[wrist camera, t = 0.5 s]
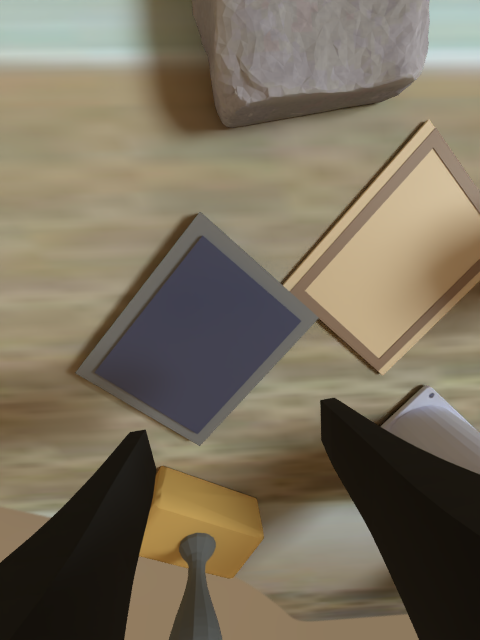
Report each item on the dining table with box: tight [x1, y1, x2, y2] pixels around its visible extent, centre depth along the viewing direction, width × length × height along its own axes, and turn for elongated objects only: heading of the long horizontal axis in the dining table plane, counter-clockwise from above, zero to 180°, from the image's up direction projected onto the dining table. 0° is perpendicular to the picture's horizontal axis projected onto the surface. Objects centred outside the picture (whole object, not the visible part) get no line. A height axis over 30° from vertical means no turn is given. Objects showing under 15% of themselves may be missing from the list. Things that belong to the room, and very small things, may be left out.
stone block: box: [192, 0, 430, 128], centre depth 14 cm, size 12×5×10 cm
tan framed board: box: [282, 120, 480, 375], centre depth 20 cm, size 12×14×1 cm
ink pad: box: [75, 212, 319, 446], centre depth 20 cm, size 11×14×1 cm
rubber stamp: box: [139, 466, 264, 640], centre depth 20 cm, size 10×6×12 cm, turn 59°
